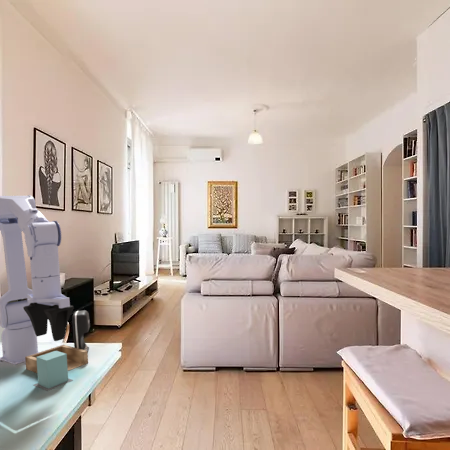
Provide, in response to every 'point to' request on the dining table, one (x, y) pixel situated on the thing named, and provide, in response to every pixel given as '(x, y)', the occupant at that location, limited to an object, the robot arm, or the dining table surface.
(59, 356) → the block
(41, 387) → the coaster
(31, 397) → the dining table surface
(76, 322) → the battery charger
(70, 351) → the crate
